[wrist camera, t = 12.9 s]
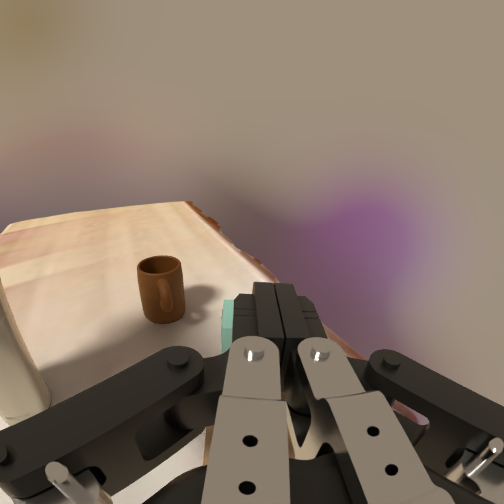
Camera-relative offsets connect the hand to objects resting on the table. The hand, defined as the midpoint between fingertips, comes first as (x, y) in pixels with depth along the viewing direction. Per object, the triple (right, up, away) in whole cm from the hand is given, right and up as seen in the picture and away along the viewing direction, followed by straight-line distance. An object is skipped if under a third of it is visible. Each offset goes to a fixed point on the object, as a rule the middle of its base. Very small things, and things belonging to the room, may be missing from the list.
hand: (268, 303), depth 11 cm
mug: (-15, -10, +36) cm, 41 cm away
